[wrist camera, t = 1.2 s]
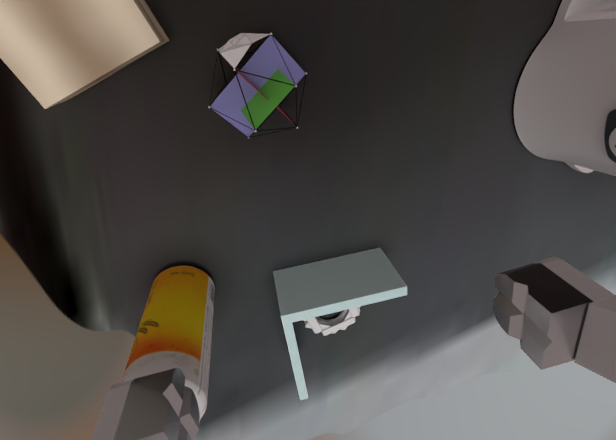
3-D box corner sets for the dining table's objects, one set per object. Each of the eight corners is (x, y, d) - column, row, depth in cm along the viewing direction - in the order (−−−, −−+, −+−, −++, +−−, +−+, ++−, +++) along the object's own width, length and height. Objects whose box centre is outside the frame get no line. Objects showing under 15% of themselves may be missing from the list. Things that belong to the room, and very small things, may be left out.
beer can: (143, 269, 36) (92, 406, 23) (205, 254, 36) (189, 380, 23) (165, 314, 39) (131, 459, 26) (222, 300, 39) (216, 435, 26)
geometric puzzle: (335, 103, 30) (308, 64, 22) (278, 163, 31) (234, 146, 23) (278, 47, 31) (233, -9, 23) (225, 107, 32) (168, 74, 25)
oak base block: (83, -99, 23) (52, -126, 19) (170, 40, 28) (160, 41, 24) (-33, -28, 24) (-85, -40, 20) (71, 98, 28) (45, 109, 24)
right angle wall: (290, 346, 45) (300, 400, 38) (272, 268, 39) (280, 316, 33) (382, 323, 46) (407, 372, 39) (378, 245, 40) (407, 286, 34)
